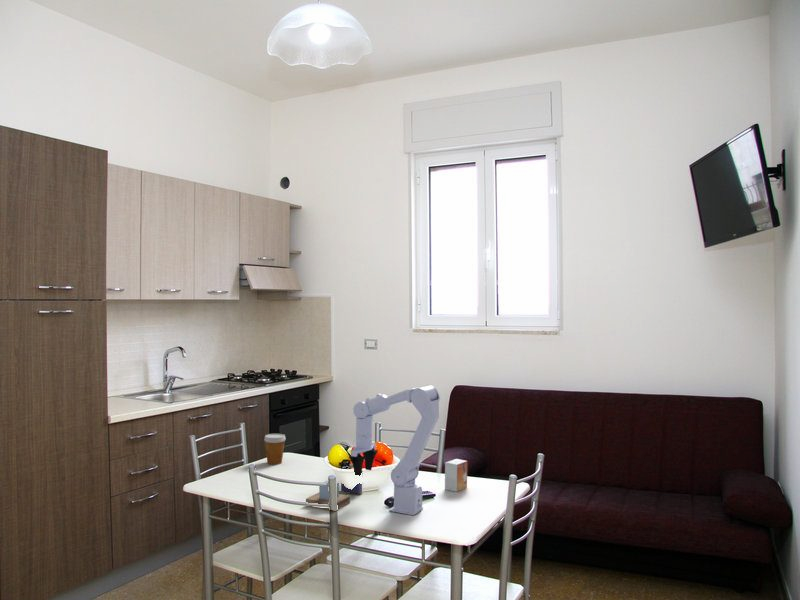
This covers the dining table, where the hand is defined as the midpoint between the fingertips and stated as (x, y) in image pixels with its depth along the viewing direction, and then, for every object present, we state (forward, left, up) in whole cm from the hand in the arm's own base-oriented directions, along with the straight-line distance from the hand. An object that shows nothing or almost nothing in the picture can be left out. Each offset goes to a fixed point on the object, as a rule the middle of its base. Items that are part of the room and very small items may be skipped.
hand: (363, 472), depth 221 cm
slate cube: (+9, +9, -8) cm, 15 cm away
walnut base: (+9, +9, -10) cm, 16 cm away
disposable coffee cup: (+60, -27, -11) cm, 67 cm away
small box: (-24, -31, -11) cm, 41 cm away
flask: (+9, -7, -11) cm, 16 cm away
